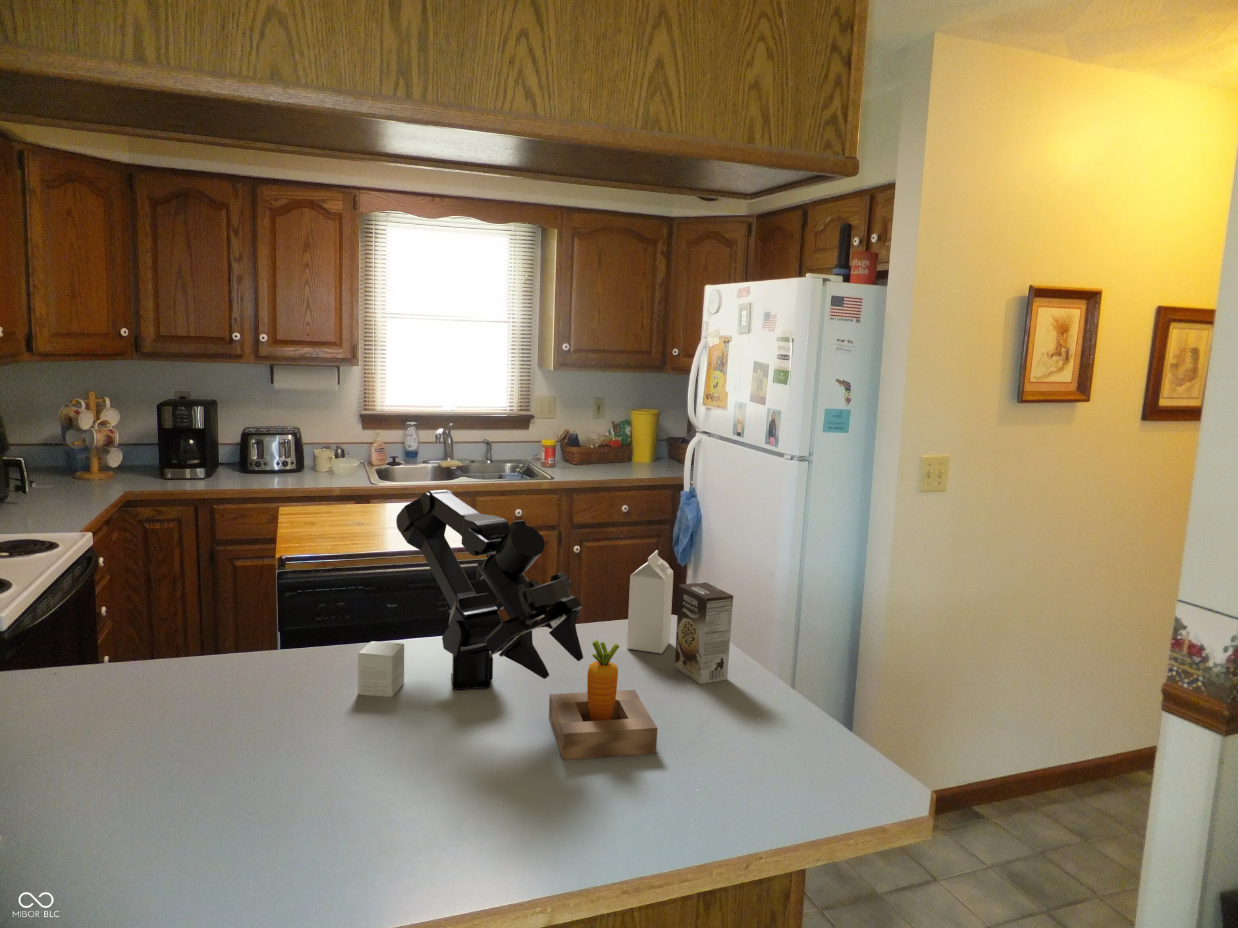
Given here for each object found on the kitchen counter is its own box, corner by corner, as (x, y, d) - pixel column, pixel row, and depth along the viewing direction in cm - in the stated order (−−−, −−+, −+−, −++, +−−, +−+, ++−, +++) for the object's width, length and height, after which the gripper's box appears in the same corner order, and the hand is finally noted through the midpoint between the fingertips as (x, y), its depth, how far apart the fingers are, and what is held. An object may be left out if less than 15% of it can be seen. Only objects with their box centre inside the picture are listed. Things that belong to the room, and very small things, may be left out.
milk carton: (626, 649, 169) (630, 555, 167) (636, 637, 176) (640, 548, 173) (661, 654, 167) (666, 560, 164) (669, 642, 174) (674, 551, 171)
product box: (371, 680, 149) (371, 640, 148) (405, 683, 148) (405, 642, 147) (357, 694, 143) (357, 652, 142) (392, 697, 142) (392, 655, 141)
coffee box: (672, 667, 161) (677, 584, 159) (701, 662, 164) (706, 580, 162) (699, 685, 153) (704, 597, 151) (729, 679, 156) (734, 594, 154)
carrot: (621, 731, 134) (625, 638, 132) (607, 743, 129) (612, 647, 127) (592, 724, 135) (596, 632, 134) (578, 736, 131) (582, 642, 129)
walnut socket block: (562, 759, 124) (563, 733, 123) (548, 717, 137) (549, 693, 137) (656, 753, 127) (657, 727, 126) (633, 712, 140) (634, 689, 140)
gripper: (502, 571, 127) (560, 659, 123) (574, 548, 143) (628, 625, 139) (461, 611, 132) (515, 697, 128) (535, 584, 148) (585, 660, 144)
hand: (564, 668), depth 135 cm, fingers open, 9 cm apart
